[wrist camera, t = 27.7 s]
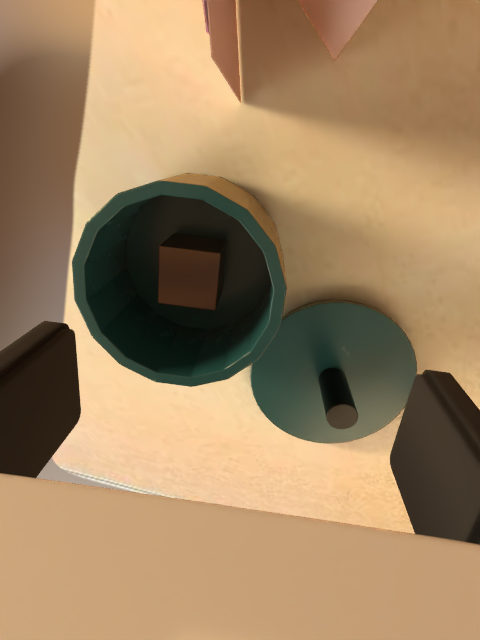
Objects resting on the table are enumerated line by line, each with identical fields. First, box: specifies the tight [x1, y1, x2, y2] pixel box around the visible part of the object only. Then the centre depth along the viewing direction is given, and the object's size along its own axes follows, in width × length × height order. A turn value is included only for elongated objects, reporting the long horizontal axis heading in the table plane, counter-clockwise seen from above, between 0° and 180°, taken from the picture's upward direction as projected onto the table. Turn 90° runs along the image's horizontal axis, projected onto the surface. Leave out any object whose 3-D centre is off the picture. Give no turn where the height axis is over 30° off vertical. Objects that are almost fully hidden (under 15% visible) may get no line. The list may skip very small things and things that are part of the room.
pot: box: [72, 173, 286, 387], centre depth 29 cm, size 14×14×8 cm
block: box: [158, 234, 227, 310], centre depth 30 cm, size 4×4×4 cm
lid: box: [251, 300, 417, 443], centre depth 33 cm, size 15×15×7 cm
